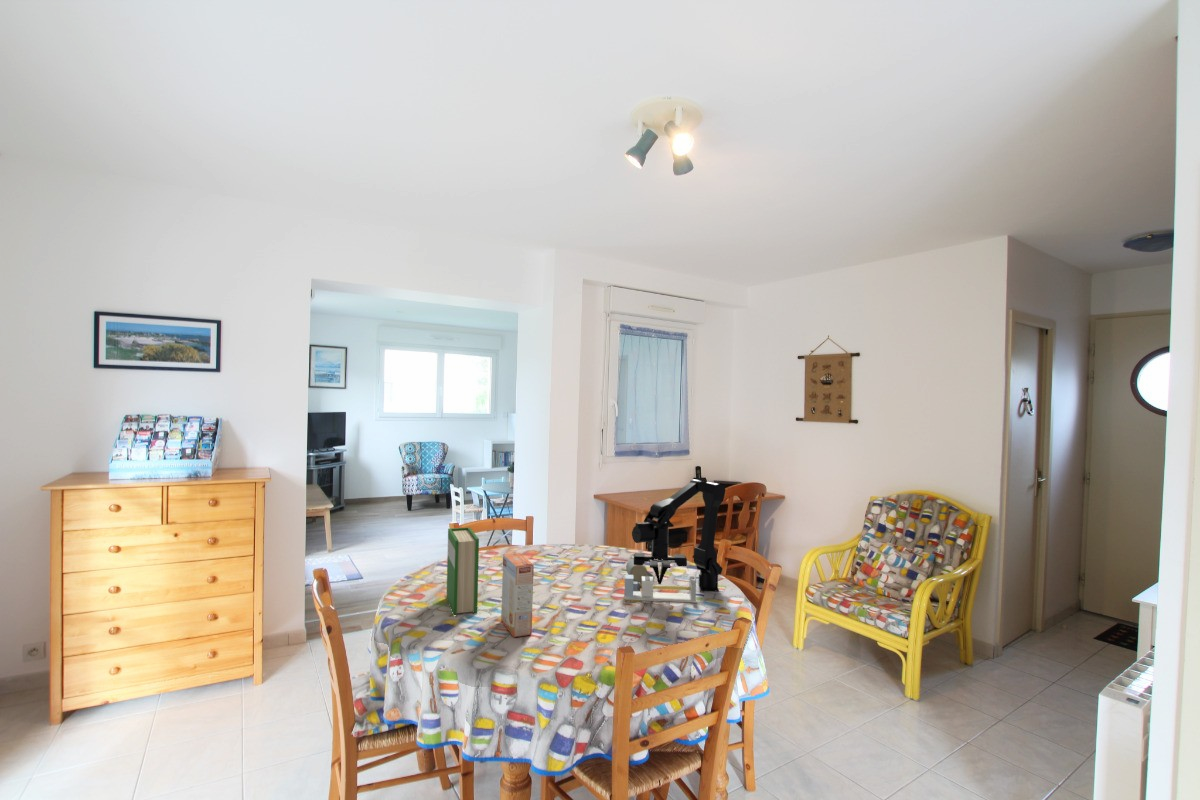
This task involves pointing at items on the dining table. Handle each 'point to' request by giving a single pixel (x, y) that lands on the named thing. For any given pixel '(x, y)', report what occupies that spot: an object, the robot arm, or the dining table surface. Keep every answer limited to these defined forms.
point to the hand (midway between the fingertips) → (659, 583)
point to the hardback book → (462, 570)
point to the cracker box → (517, 594)
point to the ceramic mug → (637, 571)
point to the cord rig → (657, 596)
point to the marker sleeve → (647, 586)
